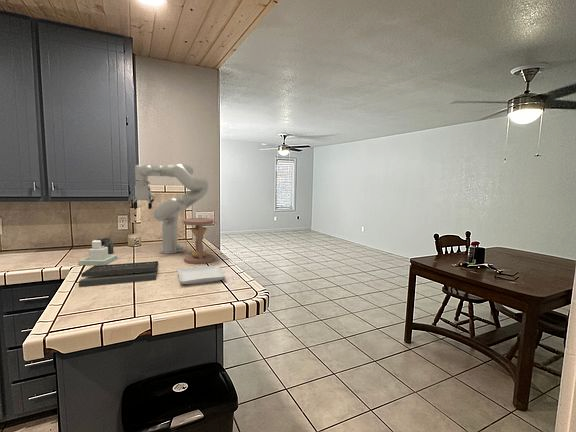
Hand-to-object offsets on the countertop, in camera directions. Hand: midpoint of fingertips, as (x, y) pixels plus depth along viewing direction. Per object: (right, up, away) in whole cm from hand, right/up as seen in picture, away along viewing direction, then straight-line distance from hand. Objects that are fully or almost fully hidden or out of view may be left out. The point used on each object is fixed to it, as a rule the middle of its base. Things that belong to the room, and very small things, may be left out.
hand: (142, 208), depth 204 cm
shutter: (+14, -35, -49) cm, 62 cm away
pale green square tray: (-11, -32, -30) cm, 45 cm away
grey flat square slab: (+55, -37, -53) cm, 85 cm away
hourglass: (+45, -32, -21) cm, 59 cm away
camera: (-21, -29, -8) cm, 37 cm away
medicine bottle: (-11, -31, -30) cm, 44 cm away
